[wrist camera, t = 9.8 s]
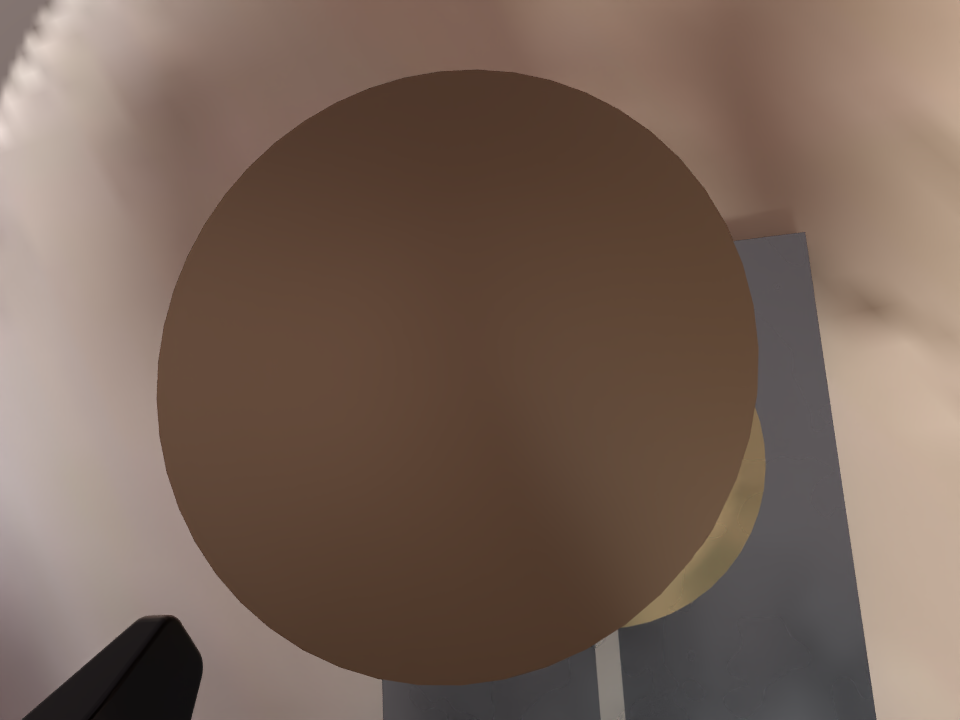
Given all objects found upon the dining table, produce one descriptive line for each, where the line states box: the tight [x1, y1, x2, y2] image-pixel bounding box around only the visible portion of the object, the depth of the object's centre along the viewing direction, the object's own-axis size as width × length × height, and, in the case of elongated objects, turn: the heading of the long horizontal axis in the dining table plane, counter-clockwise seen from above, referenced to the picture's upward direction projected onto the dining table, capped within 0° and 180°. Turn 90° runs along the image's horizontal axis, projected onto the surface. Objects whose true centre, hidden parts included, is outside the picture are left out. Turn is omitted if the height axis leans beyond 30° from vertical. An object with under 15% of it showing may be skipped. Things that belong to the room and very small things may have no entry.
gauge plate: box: [382, 232, 876, 720], centre depth 16 cm, size 17×10×2 cm, turn 3°
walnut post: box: [157, 70, 759, 685], centre depth 11 cm, size 6×6×12 cm
